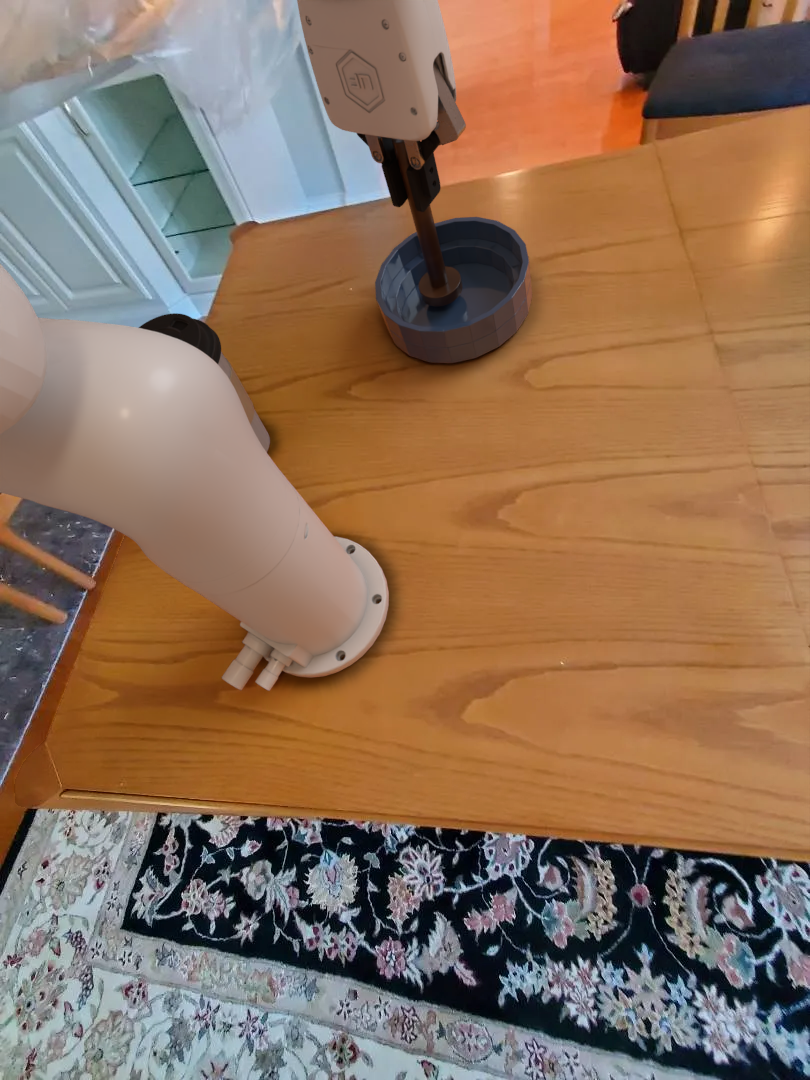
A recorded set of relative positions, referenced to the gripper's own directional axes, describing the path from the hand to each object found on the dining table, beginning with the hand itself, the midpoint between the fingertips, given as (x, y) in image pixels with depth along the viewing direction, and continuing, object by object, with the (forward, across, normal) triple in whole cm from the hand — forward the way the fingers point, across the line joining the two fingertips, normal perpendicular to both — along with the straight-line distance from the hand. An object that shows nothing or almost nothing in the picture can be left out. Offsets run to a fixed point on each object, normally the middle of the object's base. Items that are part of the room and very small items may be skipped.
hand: (417, 197), depth 55 cm
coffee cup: (+13, -10, -24) cm, 29 cm away
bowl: (+13, +2, 0) cm, 13 cm away
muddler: (+11, 0, 0) cm, 11 cm away
